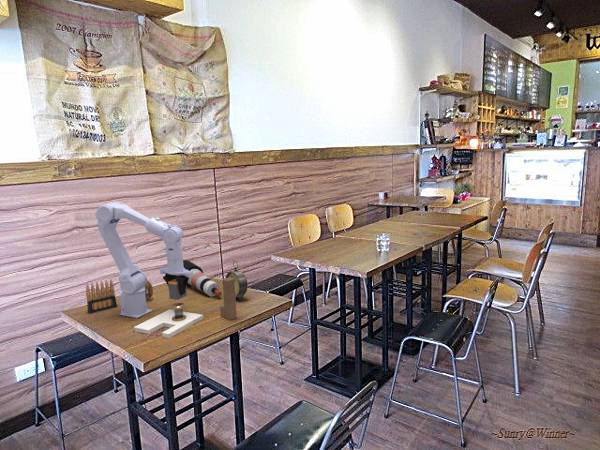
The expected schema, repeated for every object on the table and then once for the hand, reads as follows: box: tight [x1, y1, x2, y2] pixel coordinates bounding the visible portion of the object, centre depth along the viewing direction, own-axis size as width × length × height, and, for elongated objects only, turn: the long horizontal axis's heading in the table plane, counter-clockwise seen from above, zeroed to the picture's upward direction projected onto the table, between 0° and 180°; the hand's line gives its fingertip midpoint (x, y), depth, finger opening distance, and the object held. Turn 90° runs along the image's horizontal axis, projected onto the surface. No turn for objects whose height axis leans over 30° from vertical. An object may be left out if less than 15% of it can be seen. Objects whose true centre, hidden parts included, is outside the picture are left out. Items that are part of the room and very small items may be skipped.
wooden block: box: [219, 277, 238, 321], centre depth 160 cm, size 7×3×15 cm, turn 40°
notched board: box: [133, 308, 204, 339], centre depth 156 cm, size 16×18×2 cm
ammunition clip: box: [85, 278, 118, 315], centre depth 173 cm, size 11×2×12 cm, turn 128°
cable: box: [176, 259, 223, 297], centre depth 193 cm, size 10×34×10 cm, turn 37°
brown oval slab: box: [145, 280, 154, 300], centre depth 186 cm, size 15×3×8 cm, turn 59°
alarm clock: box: [225, 260, 248, 302], centre depth 180 cm, size 11×5×16 cm, turn 42°
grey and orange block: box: [167, 279, 188, 301], centre depth 164 cm, size 4×5×7 cm
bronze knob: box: [170, 302, 186, 321], centre depth 157 cm, size 5×5×5 cm
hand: (177, 293), depth 165 cm, fingers closed on grey and orange block, 4 cm apart
